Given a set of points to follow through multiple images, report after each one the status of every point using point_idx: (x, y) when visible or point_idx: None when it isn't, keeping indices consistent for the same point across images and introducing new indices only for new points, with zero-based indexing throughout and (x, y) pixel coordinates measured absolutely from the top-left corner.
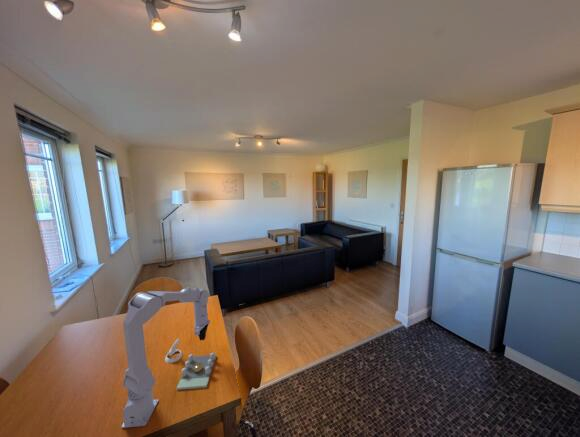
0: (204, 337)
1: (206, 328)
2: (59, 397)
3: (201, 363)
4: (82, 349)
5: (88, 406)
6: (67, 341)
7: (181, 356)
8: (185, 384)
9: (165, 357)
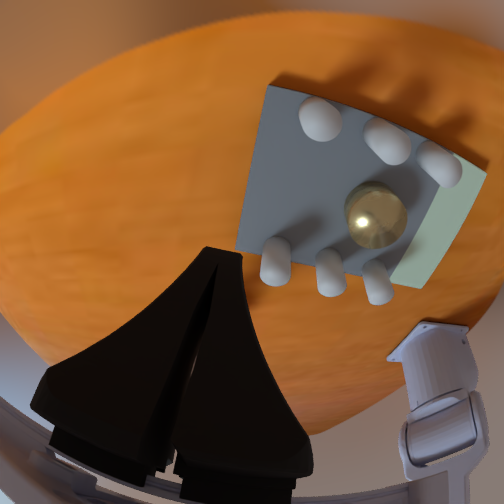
0: (242, 280)
1: (288, 467)
2: None
3: (367, 201)
4: None
5: (329, 405)
6: None
7: None
8: (428, 260)
9: None
